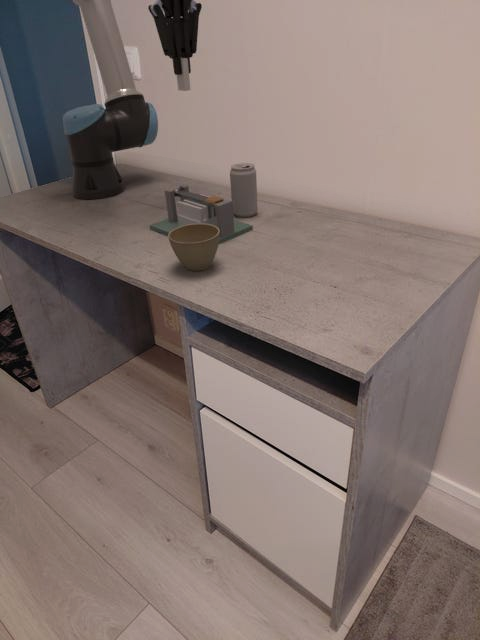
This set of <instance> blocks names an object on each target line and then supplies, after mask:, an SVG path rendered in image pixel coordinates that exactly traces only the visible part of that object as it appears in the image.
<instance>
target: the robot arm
mask: <svg viewBox="0 0 480 640" xmlns="http://www.w3.org/2000/svg"><path fill="white" fill-rule="evenodd" d="M72 2H73V4H75V5H77V6H78V7H79V8H80V11H81V14H82V17H83V20H84V21H83V22H84V23H85V27H86V30H87V33H88V37H89V41H90V44H91V46H92V51H93V53H94V56H95V60H96V64H97V68H98V69H99V72H100V76H101V79H102V82H103V86H104V90H105V94H106V96H107V97H106V100H105V101H104V103H103V104H104V105H102V104H99V103H94V104H90V105H84V106H83V105H82V106H79V107H76V108H73V109H71V110H68V111H66V112H64V114H63V116H62V124H63V125H62V126H63V132H64V135H65V137H66V138H65V139H66V142H67V147H68V151H69V154H70V155H69V156H70V160H71V163H72V169H73V171H72V180H71V184H72V185H71V190H72V194H73V196H74V198H77V199H81V200H97V199H98V200H99V199H104V198H109V197H110V198H111V197H114V196H116V195H119V194H121V193H123V192H124V191H125V188H126V187H125V182H124V179H123V177H122V176H121V173H120V172H119V170H118V168H117V166H116V164H115V161H114V155H113V153H114V152H119V151H124V150H130V149H134V148H135V149H136V148H142V147H145V146H148V145H152V144H153V143H154V142H155V141H156V139H157V137H158V133H159V119H158V114H157V111H156V108H155V107H154V105H153V104H152V103H151V102H148V101H146V99H145V96H144V94H143V93H142V92H140V91H138V90H137V88H136V84H135V81H134V77H133V74H132V69H131V67H130V64H129V60H128V57H127V52H126V50H125V47H124V43H123V39H122V35H121V33H120V29H119V25H118V22H117V18H116V15H115V12H114V8H113V5H112V1H111V0H72ZM202 8H203V7H202V4H201V2H196V1H195V0H155V2H154V3H152V4H149V5H148V8H147V9H148V11H149V13H150V15H151V16H152V18H153V21H154V25H155V27H156V31H157V34H158V37H159V41H160V44H161V49H162V51H163V55H164V56H165V57H166V56H167V57H168V58H170V59H172V65H173V74H174V75H175V76H176V82H177V90H178V91H183V92H187V91H192V90H191V81H190V80H191V79H190V74H191V72H192V69H191V60H190V59H191V58H193V56H194V55H193V54H196V53H197V49H198V48H197V47H198V33H199V21H200V14H201V11H202Z"/></svg>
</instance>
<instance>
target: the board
mask: <svg viewBox="0 0 480 640" xmlns="http://www.w3.org/2000/svg"><path fill="white" fill-rule="evenodd" d="M179 188H182V189H183V190H185V191H189V192H190V189H189V188H190V187H189V185H185V184H180V185H179ZM173 190H174V189H170V188H167V189H165V190H164V196H165V202H166V203H165V204H166V210H167V217H168V218H165V219H163V220H159V221H158V222H154V223H151V224H149V229H150V230H152V231H154V232H156V233H159V234H162V235H165V236H167V237H168V234H169V233H170V232H171V231H172V230H173V229H175V228H178V227H180V226H184V225H188V224H197V223H202V224H210V225H214V226H216V227H218V228H219V230H220V236H219V244H218V245H220V244H223V243H225V242H227V241H229V240H232V239H234V238H237V237H239V236H242V235H244V234H246V233H248V232H251V231H253V229H254V228H253V227H254V226H253V225H252V224H249V223H246V222H242V221H239V220H236V219H234V218H235V217H234V213H233V201H232V199H231V200H230V199H225V200H224V201H222V202H220V203H217V204H214V207H215V208H214V207H211V206H208V205H204V204H201V203H197V202H194V201H191V200H187V199H184V198H180V200H179V201H177V202H176V197H175V196H174V191H173ZM199 195H203V196H207V197H210V196H208V195H205V194H202V193H200V194H199ZM176 203H177V205H176ZM177 207H178V214H177Z"/></svg>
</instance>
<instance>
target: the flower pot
mask: <svg viewBox="0 0 480 640" xmlns="http://www.w3.org/2000/svg"><path fill="white" fill-rule="evenodd" d="M219 236H220V230H219V228H218V227H216V226H214V225H210V224H202V223H197V224H188V225H184V226H180V227H178V228H175V229H173V230H172V231H171V232H170V233H169V234H168V236H167V237H168V241H169V244H170V246H171V249H172V250H173V252H174V254H175V256H176V258H177V260H178V261H179V262H180V263H181V264H182V266H183V267H184V268H185V269H186V270H188V271H192V272H200V271H201V272H202V271H204V270H206V269H208V268H209V267H210V266H211V265H212V264H213V261H214V259H215V257H216V254H217V252H218V247H219V245H220V244H219Z"/></svg>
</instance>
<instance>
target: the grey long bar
mask: <svg viewBox="0 0 480 640" xmlns="http://www.w3.org/2000/svg"><path fill="white" fill-rule="evenodd" d="M172 190H173V191H174V196H175V198H176V197H178V198H180V199H181V198H184V199H187V200H191V201H194V202H197V203H201V204H204V205H208V206H211V207H214V204H217V203H220V202H222V201H225V200H224V198H222V197H220V196H215V195H213V196H209V197H207V196H208V195H205V196H203V195H204V194H202V195H200V194H199V193H195V192H192V191H190V190H189V191H185V190H183V189H182V188H175V189H172ZM214 208H215V207H214Z"/></svg>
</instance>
